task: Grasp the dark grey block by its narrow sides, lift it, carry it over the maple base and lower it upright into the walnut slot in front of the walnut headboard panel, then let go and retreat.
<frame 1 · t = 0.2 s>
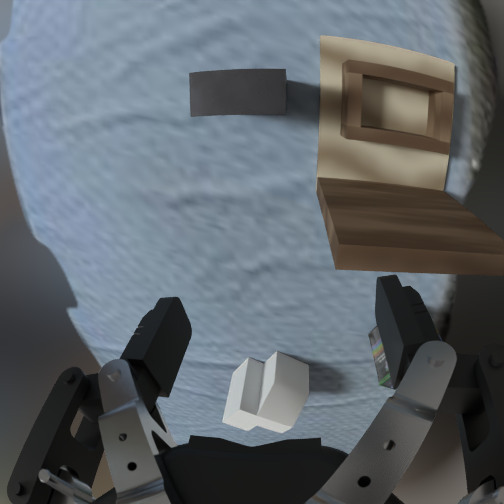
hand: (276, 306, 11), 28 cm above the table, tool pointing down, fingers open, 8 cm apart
dark grey block: (253, 94, 32), on the table
post socket: (388, 128, 32), on the table
chalk box: (400, 325, 46), on the table
white stepped block: (269, 369, 55), on the table
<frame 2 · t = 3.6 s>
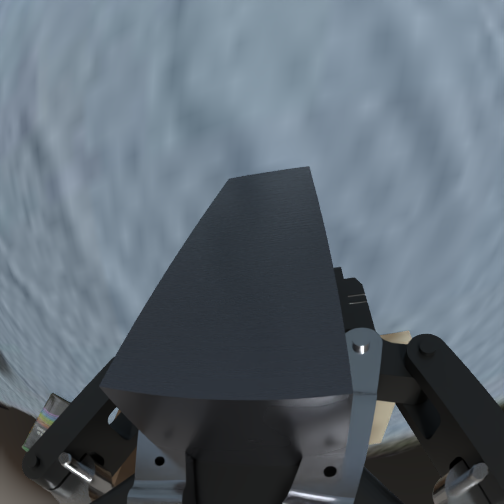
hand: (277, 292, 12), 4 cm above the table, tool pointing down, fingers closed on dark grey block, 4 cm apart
dark grey block: (281, 244, 16), on the table, touching gripper
post socket: (274, 409, 24), on the table
chalk box: (81, 415, 35), on the table
when the fingers open (7 cm above the table, at t = 10.3 s): dark grey block drops 1 cm, resting on post socket.
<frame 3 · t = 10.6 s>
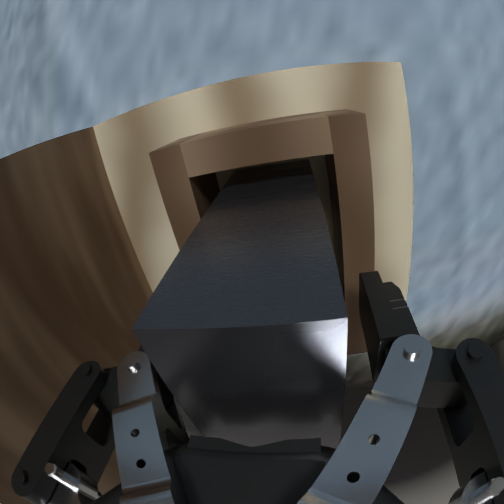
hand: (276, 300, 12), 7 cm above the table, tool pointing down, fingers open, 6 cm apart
dark grey block: (283, 231, 17), point 1 cm above the table, touching post socket
post socket: (235, 231, 19), on the table
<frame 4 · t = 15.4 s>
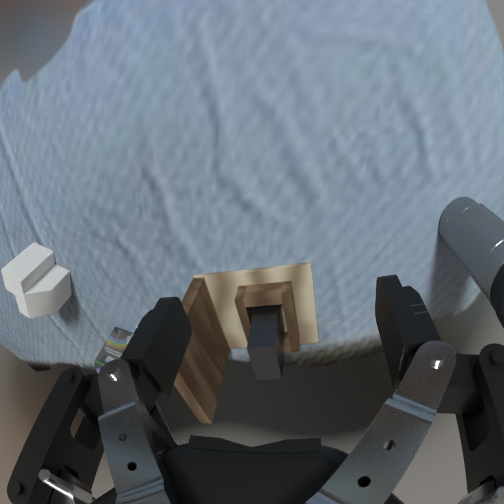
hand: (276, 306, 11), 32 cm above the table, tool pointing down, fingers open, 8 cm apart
dark grey block: (271, 312, 52), point 1 cm above the table, touching post socket
post socket: (255, 310, 54), on the table
chalk box: (132, 343, 65), on the table
white stepped block: (53, 268, 57), on the table
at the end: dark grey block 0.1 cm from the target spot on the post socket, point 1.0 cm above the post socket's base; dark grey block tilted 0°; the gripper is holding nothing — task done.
